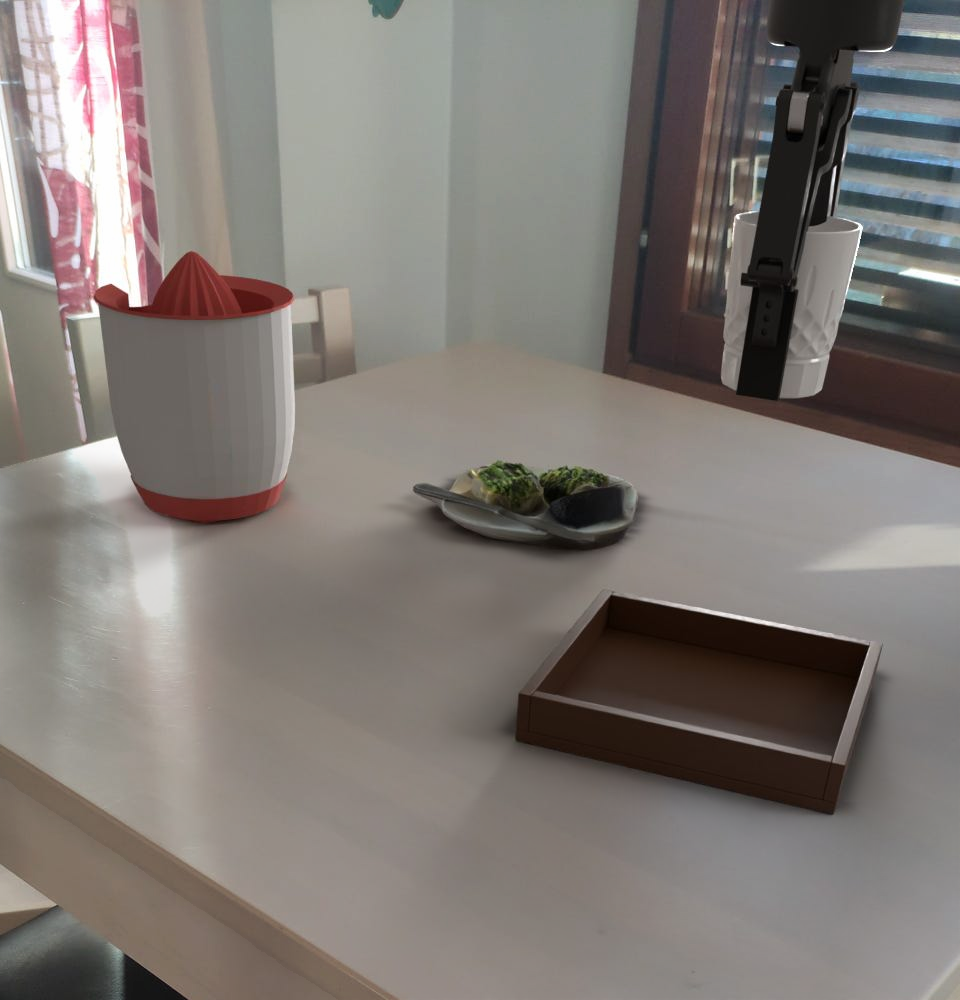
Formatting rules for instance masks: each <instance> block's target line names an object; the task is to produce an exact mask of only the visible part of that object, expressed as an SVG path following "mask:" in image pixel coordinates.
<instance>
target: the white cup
mask: <svg viewBox="0 0 960 1000" xmlns="http://www.w3.org/2000/svg"><path fill="white" fill-rule="evenodd" d="M759 211H760V210H759ZM759 211H748V212H742V213H738V214H736V215H735V216H734V222H733V232H732V242H731V252H730V260H729V261H730V262H729V270H728V279H727V286H726V287H727V289H726V302H725V303H726V304H725V311H724V327H723V336H722V337H723V340H724V342H725V343H724V344H723V352H722V359H721V360H722V361H721V369H720V379H721V383H722V385H724V386H725V387H727V388H729V389H731V390H733V391H735V392H736V391H737V384H738V378H739V372H740V365H741V359H742V353H743V346H744V340H745V333H746V327H747V321H748V314H749V308H750V302H751V295H752V289H753V287H748V286H741V284H740V281H741V274H742V273H747V269H748V266H749V265H750V260H751V255H752V249H753V244H754V238H755V233H756V227H757V222H758V216H759ZM862 231H863V226H862V225H861V223H859V222H856V221H853V220H850V219H846V218H841V217H837V216H836V217H832V216H828V217H827V221H826V222H824V223H822V224H820V225H817V226H809V228H808V231H807V232H806V238H805V244H804V249H803V253H802V258H801V262H800V266H799V271H798V275H797V277H798V281H797V285H796V286H795V287H794V289H795V290H799V291H798V297H797V302H796V308H795V314H794V319H793V325H792V331H791V336H790V342H789V348H788V353H787V359H786V365H785V370H784V376H783V382H782V387H781V393H780V398H779V399H801V398H806V397H807V398H808V397H813V396H816V394H818V393H820V392H821V391H822V390H823V387H824V382H825V379H826V375H827V370H828V365H829V360H830V352H831V351H832V348H833V346H834V343H835V341H836V339H837V338H836V337H837V334H838V329H839V324H840V320H841V317H842V314H843V311H844V307H845V302H846V298H847V293H848V290H849V285H850V281H851V277H852V273H853V268H854V264H855V260H856V256H857V253H858V252H857V251H858V248H859V245H860V239H861V236H862ZM769 261H776V262H782V261H777V260H769Z"/></svg>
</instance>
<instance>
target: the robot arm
mask: <svg viewBox="0 0 960 1000" xmlns="http://www.w3.org/2000/svg"><path fill="white" fill-rule="evenodd" d="M904 3H905V0H769V6H768V11H767V12H768V13H767V18H766V19H767V20H766V27H765V37H766V40H767V42H769V43H770V44H772V45H774V46H779V47H780V46H781V47H795V48H798V49H799V52H798V59H797V60H796V64H795V70H794V74H793V78H792V82H791V84H789V83H788V84H787V83H785V84H784V85H783V88H781V89H779V92H778V95H777V96H776V98H775V104H774V105H775V115H774V122H773V123H774V124H773V130H772V131H773V132H772V139H771V145H770V150H769V156H768V160H767V167H766V172H765V178H764V182H763V183H764V184H763V189H762V194H761V200H760V205H759V216H758V222H757V227H756V233H755V238H754V244H753V249H752V255H751V260H750V265H749V266H748V269H747V273H742V274H741V281H740V284H741V286H748V287H753V289H752V295H751V302H750V308H749V314H748V321H747V327H746V333H745V340H744V346H743V353H742V359H741V365H740V372H739V378H738V384H737V391H736V390H735V395H736V396H742V397H748V398H753V399H754V398H755V399H760V400H761V399H762V400H767V401H768V400H769V401H773V402H774V401H775V402H777V401H779V400H780V399H781V398H780V393H781V387H782V382H783V376H784V370H785V365H786V359H787V353H788V348H789V342H790V336H791V331H792V325H793V319H794V314H795V308H796V302H797V297H798V291H799V290H795V289H794V287H795V286H796V285H797V281H798V277H797V275H798V271H799V266H800V262H801V258H802V253H803V249H804V244H805V238H806V232H807V231H808V228H809V226H817V225H820V224H822V223H824V222H826V221H827V217H828V216H832V217H837V210H838V204H839V198H840V194H841V187H842V180H843V175H844V169H845V162H846V156H847V151H848V145H849V140H850V139H849V138H850V133H851V127H852V122H853V117H854V114H855V112H856V110H857V108H858V102H859V101H858V100H859V96H860V88H859V86H860V83H859V81H852V77H853V68H854V62H855V60H854V55H855V52H887V51H889V50H891V49H892V48H893V47H894V46H895V45H896V42H897V39H898V35H899V30H900V26H901V25H900V24H901V19H902V15H903V9H904ZM769 260H777V261H782V262H776V261H769Z"/></svg>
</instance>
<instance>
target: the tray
mask: <svg viewBox="0 0 960 1000" xmlns="http://www.w3.org/2000/svg"><path fill="white" fill-rule="evenodd" d="M883 645H884V644H883V643H881V642H877V641H870V640H866V639H862V638H861V639H860V638H856V637H852V636H845V635H840V634H835V633H830V632H825V631H821V630H815V629H809V628H803V627H799V626H794V625H789V624H784V623H783V624H782V623H779V622H774V621H768V620H764V619H759V618H754V617H753V618H752V617H748V616H742V615H738V614H733V613H727V612H723V611H717V610H712V609H708V608H707V609H706V608H703V607H696V606H691V605H686V604H682V603H676V602H672V601H671V602H670V601H666V600H660V599H656V598H650V597H646V596H640V595H635V594H629V593H625V592H619V591H614V590H611V589H610V590H609V589H605V588H603V589H602V590H601V591H600V593H599V594H597V596H596V597H595V598H594V600H593V601H592V602H591V603H590V605H589V606H588V607H587V608H586V610H585V611H584V612H583V613H582V615H581V616H580V617H579V618H578V619H577V621H576V622H575V623H574V624H573V625H572V627H571V628H570V629H569V630H568V631H567V633H566V634H564V637H563V638H562V639H561V640H560V641H559V643H558V644H557V645H556V646H555V648H553V650H552V651H551V652H550V654H549V655H548V656H547V657H546V658H545V660H544V661H543V662H542V663H541V665H540V666H539V667H538V669H537V670H536V671H535V672H534V674H533V675H532V676H531V677H530V678H529V679H528V681H527V682H526V683H525V684H524V686H523V687H522V688H521V689H520V691H519V692H518V694H517V695H518V696H517V709H516V724H515V735H514V736H515V737H514V741H517V742H520V743H526V744H530V745H534V746H538V747H542V748H547V749H552V750H555V751H559V752H564V753H568V754H571V755H572V754H573V755H577V756H581V757H585V758H590V759H594V760H597V761H603V762H607V763H609V764H610V763H611V764H615V765H619V766H623V767H629V768H633V769H636V770H640V771H644V772H645V771H646V772H649V773H654V774H658V775H662V776H666V777H669V778H670V777H671V778H675V779H680V780H682V781H687V782H691V783H697V784H701V785H705V786H710V787H713V788H717V789H721V790H725V791H729V792H730V791H731V792H735V793H739V794H744V795H746V796H747V795H748V796H751V797H755V798H760V799H764V800H769V801H773V802H778V803H782V804H786V805H790V806H793V807H799V808H803V809H807V810H812V811H815V812H819V813H824V814H828V815H834V814H835V813H836V809H837V805H838V802H839V798H840V796H841V792H842V789H843V786H844V783H845V780H846V779H845V778H846V776H847V772H848V769H849V765H850V763H851V758H852V755H853V752H854V748H855V746H856V742H857V739H858V736H859V732H860V729H861V726H862V724H863V723H862V722H863V719H864V717H865V713H866V710H867V707H868V703H869V699H870V696H871V692H872V689H873V687H874V682H875V677H876V673H877V670H878V666H879V663H880V657H881V653H882V651H883Z"/></svg>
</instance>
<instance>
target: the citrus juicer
mask: <svg viewBox="0 0 960 1000" xmlns="http://www.w3.org/2000/svg"><path fill="white" fill-rule="evenodd" d="M93 299H94V301H95V302H96V303H97V306H98V313H99V323H100V330H101V339H102V346H103V354H104V363H105V371H106V378H107V386H108V396H109V403H110V409H111V416H112V421H113V426H114V431H115V434H116V437H117V441H118V444H119V448H120V451H121V454H122V456H123V459H124V461H125V463H126V466H127V468H128V471H129V473H130V479H131V481H132V483H133V485H134V487H135V489H136V491H137V493H138V495H139V496H140V498H141V500H142V502H143V504H144V505H145V506H146V507H147V508H148V509H149V510H152V511H153V512H155V513H158V514H161V515H164V516H165V517H166V516H167V517H171V518H174V519H181V520H190V521H194V522H196V523H198V524H204V525H205V524H207V525H208V524H214V523H217V522H218V521H225V520H227V521H228V520H234V519H240V518H245V517H251V516H254V515H257V514H260V513H262V512H266V511H267V510H269V509H270V508H272V507H274V505H276V504H277V503H278V501H279V498H280V496H281V493H282V491H283V488H284V485H285V482H286V480H287V477H288V467H289V464H290V460H291V456H292V451H293V450H292V449H293V441H294V435H295V427H296V425H295V423H296V421H295V420H296V419H295V418H296V410H295V409H296V400H295V398H296V395H295V374H294V373H295V372H294V349H293V347H294V346H293V345H294V344H293V326H292V325H293V324H292V304H293V303H294V302H295V296H294V294H293V292H292V291H291V290H290V289H289V288H287V287H284V286H282V285H281V284H277V283H274V282H270V281H266V280H262V279H258V278H250V277H243V276H234V275H224V274H219V273H218V271H217V270H216V269H215V268H214V267H213V266H212V265H211V264H210V263H209V262H208V261H207V260H206V259H205V258H204V257H203V256H202V255H201V254H199V253H198V252H196V251H193V250H191V251H187V252H186V253H185V254H183V256H182V257H181V258H180V259H179V260H178V261H177V262H176V263H175V264H174V265H173V266H172V268H171V269H170V271H169V272H168V273H167V275H166V276H165V278H164V279H163V280H162V282H161V284H160V285H159V287H158V289H157V291H156V293H155V295H154V298H153V301H152V303H151V304H148V305H143V306H130V298H129V293H128V292H126V291H124V290H123V289H121V288H119V287H118V286H116V285H114V284H112V283H108V284H105V285H102V286H100V287H99V288H97V289H96V290H95V292H94V295H93Z"/></svg>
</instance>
